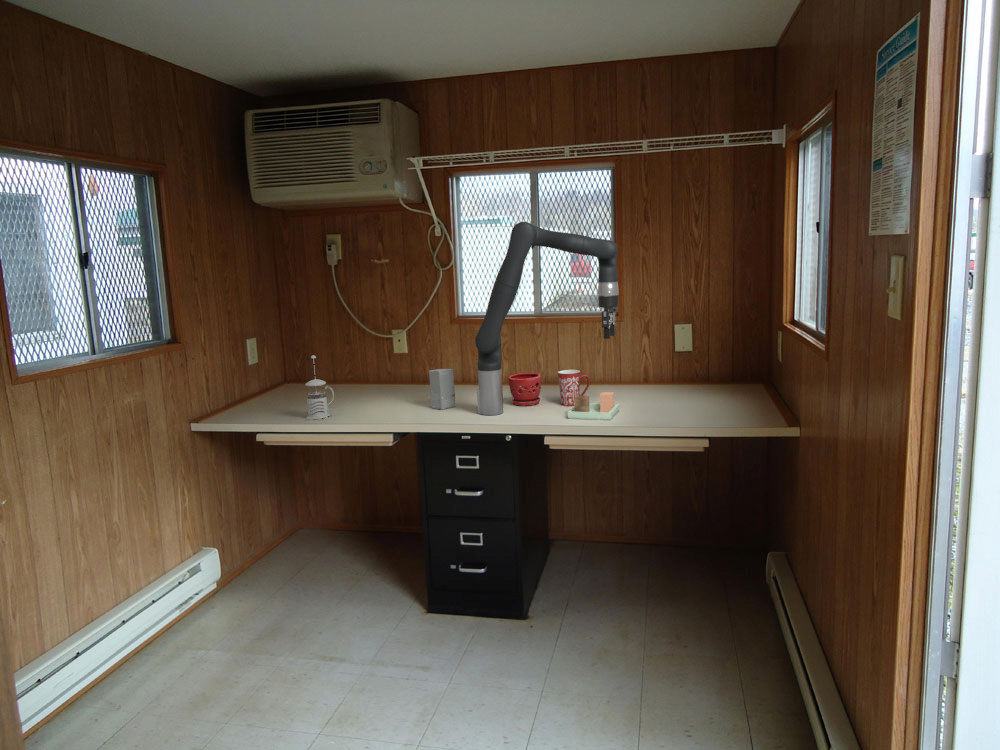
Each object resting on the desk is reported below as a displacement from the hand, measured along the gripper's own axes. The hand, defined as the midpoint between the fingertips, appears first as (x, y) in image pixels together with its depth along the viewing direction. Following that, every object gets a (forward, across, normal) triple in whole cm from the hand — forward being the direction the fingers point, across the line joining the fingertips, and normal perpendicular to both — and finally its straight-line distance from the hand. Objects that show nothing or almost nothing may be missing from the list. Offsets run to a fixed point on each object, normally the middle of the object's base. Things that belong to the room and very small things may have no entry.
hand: (609, 337), depth 275 cm
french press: (+28, +29, -112) cm, 119 cm away
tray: (+28, +9, -4) cm, 30 cm away
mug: (+28, -8, -16) cm, 34 cm away
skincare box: (+28, +5, -68) cm, 74 cm away
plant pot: (+28, -6, -36) cm, 47 cm away
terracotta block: (+28, +6, 0) cm, 28 cm away
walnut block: (+28, +13, -8) cm, 31 cm away
